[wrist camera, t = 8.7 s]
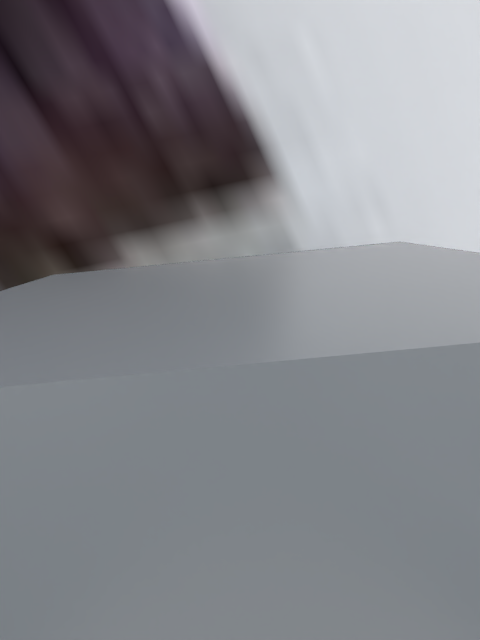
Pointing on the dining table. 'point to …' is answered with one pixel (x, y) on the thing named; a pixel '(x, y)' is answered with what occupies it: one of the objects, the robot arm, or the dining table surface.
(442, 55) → the dining table surface
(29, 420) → the grey matte cube
